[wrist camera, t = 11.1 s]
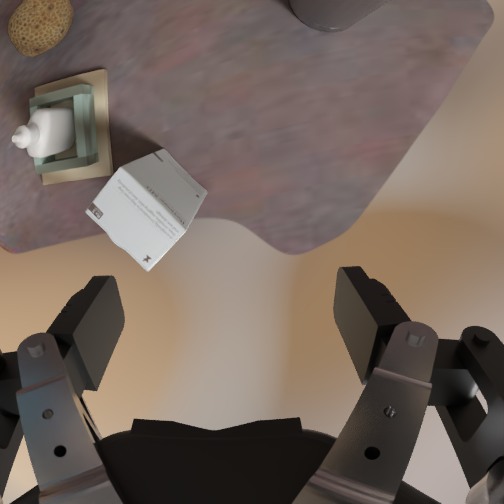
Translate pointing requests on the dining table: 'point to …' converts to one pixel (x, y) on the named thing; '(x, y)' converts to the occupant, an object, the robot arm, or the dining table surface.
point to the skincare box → (147, 206)
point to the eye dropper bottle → (47, 132)
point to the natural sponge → (39, 25)
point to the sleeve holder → (78, 128)
